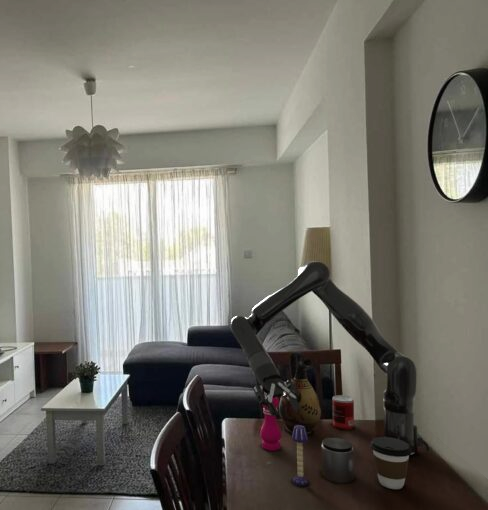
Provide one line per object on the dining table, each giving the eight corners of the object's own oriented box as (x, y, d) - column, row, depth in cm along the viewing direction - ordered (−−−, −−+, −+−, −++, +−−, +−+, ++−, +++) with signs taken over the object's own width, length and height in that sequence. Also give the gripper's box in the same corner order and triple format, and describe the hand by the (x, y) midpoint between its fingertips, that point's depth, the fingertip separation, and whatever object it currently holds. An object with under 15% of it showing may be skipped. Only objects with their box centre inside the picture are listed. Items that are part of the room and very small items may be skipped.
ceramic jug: (330, 435, 173) (328, 355, 173) (293, 440, 169) (291, 358, 169) (304, 420, 189) (302, 346, 189) (269, 424, 185) (268, 349, 185)
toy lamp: (290, 478, 140) (289, 423, 140) (304, 478, 141) (304, 423, 141) (296, 486, 136) (295, 429, 136) (311, 485, 136) (310, 429, 136)
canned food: (353, 423, 184) (352, 396, 184) (355, 430, 177) (354, 402, 177) (332, 421, 187) (332, 394, 187) (333, 428, 179) (333, 400, 179)
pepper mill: (279, 443, 167) (278, 387, 167) (283, 451, 160) (282, 393, 160) (259, 442, 168) (258, 387, 168) (262, 451, 160) (261, 393, 160)
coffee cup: (411, 497, 129) (410, 454, 129) (368, 487, 135) (367, 446, 135) (413, 480, 138) (412, 440, 138) (372, 472, 144) (372, 433, 144)
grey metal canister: (348, 469, 146) (347, 437, 146) (357, 483, 137) (357, 449, 137) (318, 468, 147) (318, 437, 147) (326, 482, 138) (325, 448, 138)
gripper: (250, 364, 149) (274, 411, 138) (286, 359, 154) (311, 404, 144) (241, 377, 153) (263, 423, 143) (275, 372, 159) (299, 415, 149)
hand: (287, 413), depth 143 cm, fingers open, 8 cm apart
